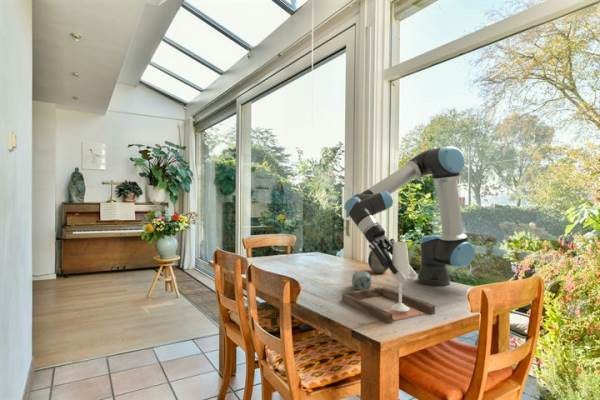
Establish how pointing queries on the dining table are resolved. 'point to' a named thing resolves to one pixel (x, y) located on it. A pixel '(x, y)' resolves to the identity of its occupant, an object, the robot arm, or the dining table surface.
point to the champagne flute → (403, 264)
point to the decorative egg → (375, 263)
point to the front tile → (404, 313)
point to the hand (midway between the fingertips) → (408, 278)
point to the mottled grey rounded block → (361, 280)
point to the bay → (376, 312)
